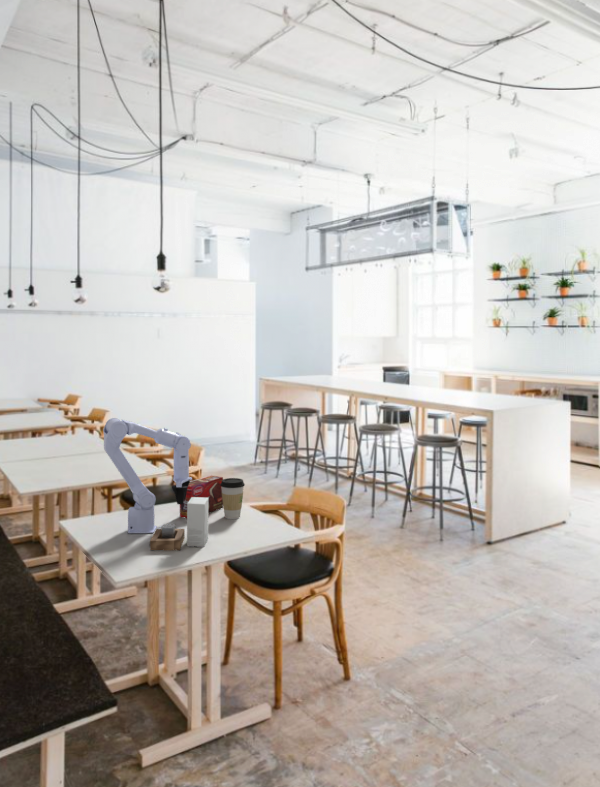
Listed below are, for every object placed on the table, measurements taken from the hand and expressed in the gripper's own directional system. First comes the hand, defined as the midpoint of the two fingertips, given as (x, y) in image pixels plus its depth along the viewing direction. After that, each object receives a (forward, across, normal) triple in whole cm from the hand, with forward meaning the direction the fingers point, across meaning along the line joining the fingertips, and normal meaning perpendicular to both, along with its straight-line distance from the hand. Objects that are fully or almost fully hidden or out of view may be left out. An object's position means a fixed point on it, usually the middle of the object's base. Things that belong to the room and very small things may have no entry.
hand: (181, 501), depth 244 cm
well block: (+9, -22, +2) cm, 24 cm away
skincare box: (+10, -21, -8) cm, 25 cm away
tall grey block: (+9, -22, +2) cm, 24 cm away
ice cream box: (+10, +18, -6) cm, 21 cm away
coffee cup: (+10, +11, -19) cm, 24 cm away
